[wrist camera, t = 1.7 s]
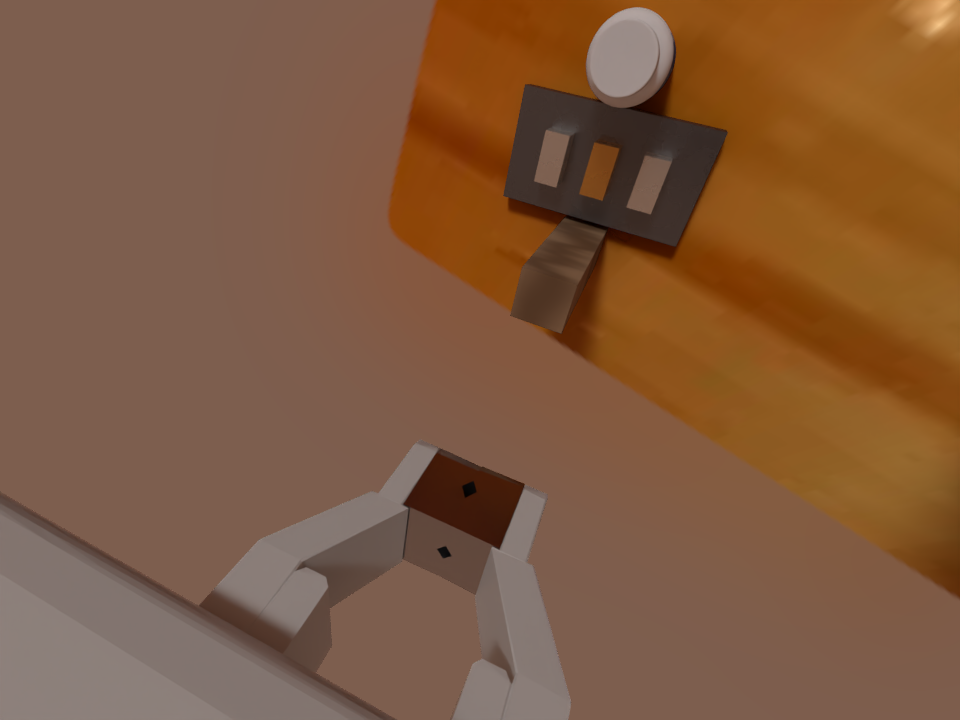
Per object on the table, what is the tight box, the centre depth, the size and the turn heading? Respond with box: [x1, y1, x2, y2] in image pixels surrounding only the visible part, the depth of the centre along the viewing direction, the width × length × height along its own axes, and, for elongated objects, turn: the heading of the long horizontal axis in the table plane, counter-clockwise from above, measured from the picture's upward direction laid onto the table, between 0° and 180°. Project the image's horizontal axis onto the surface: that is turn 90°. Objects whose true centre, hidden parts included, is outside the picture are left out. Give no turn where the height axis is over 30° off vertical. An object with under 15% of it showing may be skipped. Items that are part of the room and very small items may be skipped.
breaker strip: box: [503, 84, 728, 247], centre depth 37 cm, size 16×9×4 cm, turn 79°
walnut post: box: [510, 215, 608, 334], centre depth 37 cm, size 4×4×14 cm
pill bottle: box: [586, 8, 676, 108], centre depth 30 cm, size 5×5×10 cm
